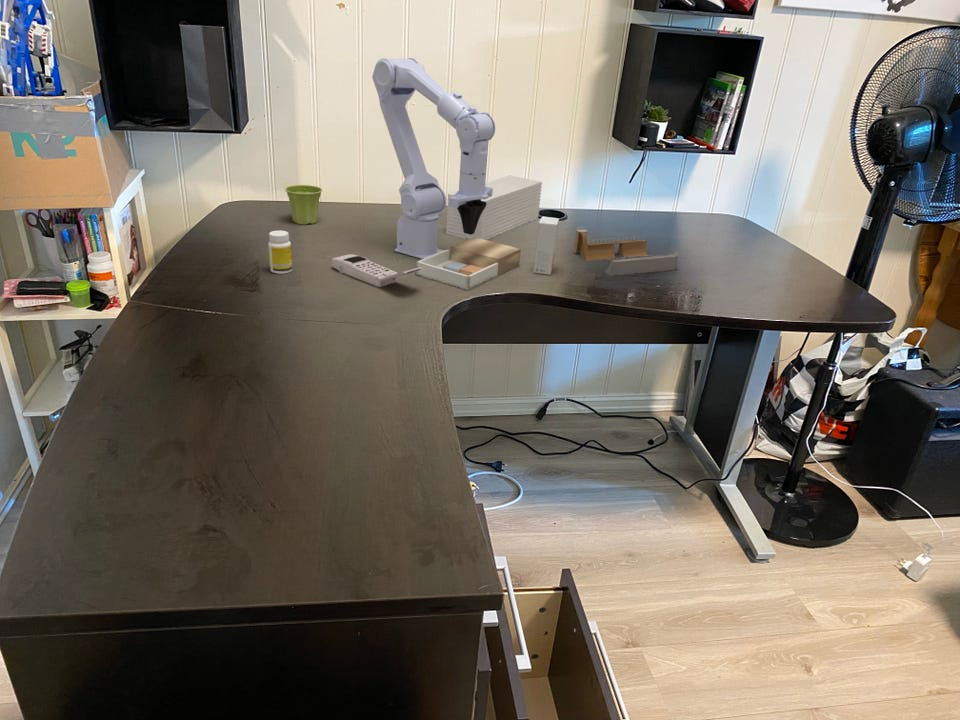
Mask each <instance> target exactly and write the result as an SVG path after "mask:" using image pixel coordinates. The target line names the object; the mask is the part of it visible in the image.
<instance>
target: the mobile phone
mask: <svg viewBox="0 0 960 720" xmlns="http://www.w3.org/2000/svg"><path fill="white" fill-rule="evenodd" d="M331 262H332V263H331V265H332V267H333V268H334V269H336V270H337V271H338V272H339V273H340V274H345V275H346V276H349V277H352V278H355V279H357V280H358V281H362V282H364V283H367V284H370V285H371V286H374V287H377V288H382V287H385V286H388V284H389V285H391V283H392V284H394V282H395V283H396V281H397V279H398V278H399V277H402V276H406V275H408V274H410V273H414V272H416V271H417V270H420V269H422V268H423V267H422V266H421V267H418V268H416V267H415V268H412V269H409V270H403V271H400V272H397V271H394V270H392V269H390V268H388V267H385V266H382V265H380V264H378V263H375V262H373V261H371V260H369V258H367V257H364V256H360V255H357V254H351V253H350V254H345V255H341V256H337V257H333V258H332V259H331Z"/></svg>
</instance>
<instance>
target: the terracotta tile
mask: <svg viewBox="0 0 960 720" xmlns="http://www.w3.org/2000/svg"><path fill="white" fill-rule="evenodd" d="M482 269H484V268H481V267H477V266H473V265H469V266H466V267H464V268H462V269H461V270H460V274H464V275H467V276H469V275H471V274H473V273H475V272H477V271H479V270H482Z"/></svg>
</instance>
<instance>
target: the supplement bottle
mask: <svg viewBox="0 0 960 720" xmlns="http://www.w3.org/2000/svg"><path fill="white" fill-rule="evenodd" d="M268 235H269V237H268V238H269V241H268V243H267V245H268V246H267V247H268V261H269V263H268V264H269V269H270V270H269V271H270V272H272V273H274V274H278V275H279V274H280V275H284V274H289V273H291V272H292V271H293V255H292V242H291V241H290V235H289V232H288V231H285V230H272V231H270V232H269V233H268Z"/></svg>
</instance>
